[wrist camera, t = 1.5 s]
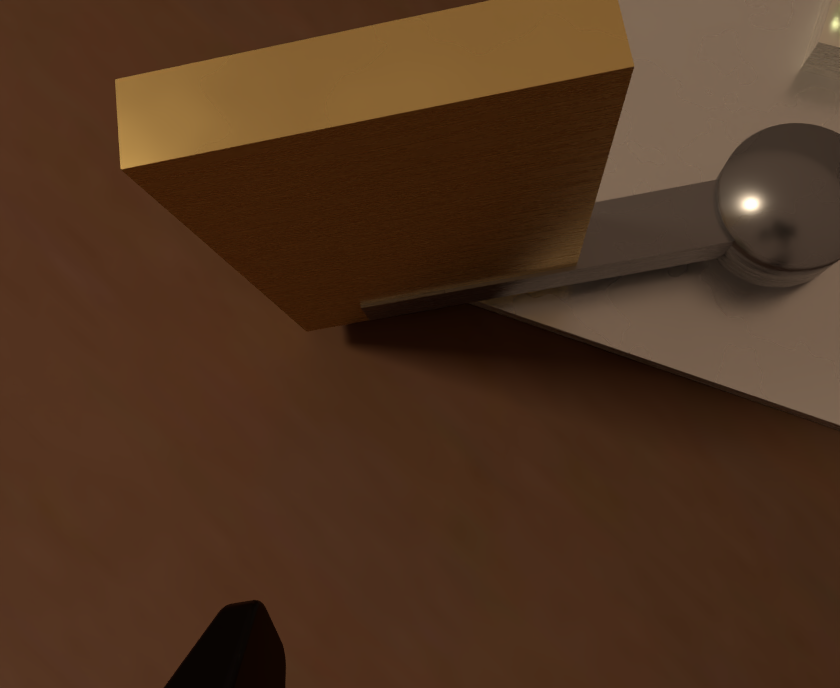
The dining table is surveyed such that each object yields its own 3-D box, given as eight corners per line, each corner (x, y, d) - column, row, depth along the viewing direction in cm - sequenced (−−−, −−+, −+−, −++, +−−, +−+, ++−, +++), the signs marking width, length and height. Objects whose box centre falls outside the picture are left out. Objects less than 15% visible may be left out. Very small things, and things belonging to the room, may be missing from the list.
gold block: (824, 145, 22) (1135, -208, 11) (864, 273, 21) (1246, 24, 10) (296, 245, 23) (110, 15, 12) (311, 370, 22) (125, 240, 11)
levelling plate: (973, 14, 23) (1038, -55, 20) (853, 435, 21) (908, 424, 18) (544, -87, 26) (548, -160, 23) (396, 278, 23) (381, 247, 20)
